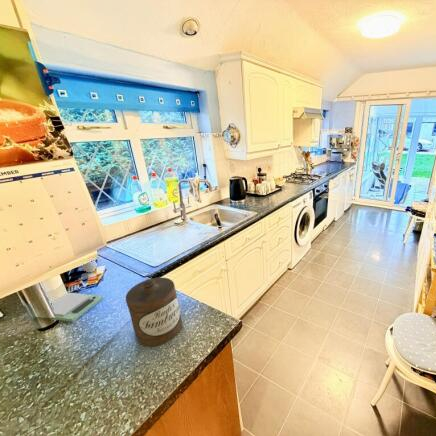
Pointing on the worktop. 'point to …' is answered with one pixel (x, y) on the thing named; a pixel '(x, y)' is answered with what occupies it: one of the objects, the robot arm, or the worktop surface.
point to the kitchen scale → (73, 305)
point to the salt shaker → (90, 266)
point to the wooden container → (154, 311)
